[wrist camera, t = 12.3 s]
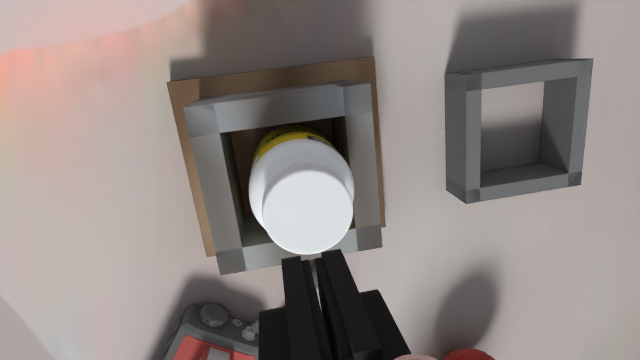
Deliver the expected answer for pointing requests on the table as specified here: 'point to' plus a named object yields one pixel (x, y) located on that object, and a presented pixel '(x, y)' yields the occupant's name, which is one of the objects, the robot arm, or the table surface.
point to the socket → (248, 129)
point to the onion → (468, 355)
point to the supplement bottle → (301, 189)
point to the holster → (556, 138)
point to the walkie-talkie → (214, 335)
